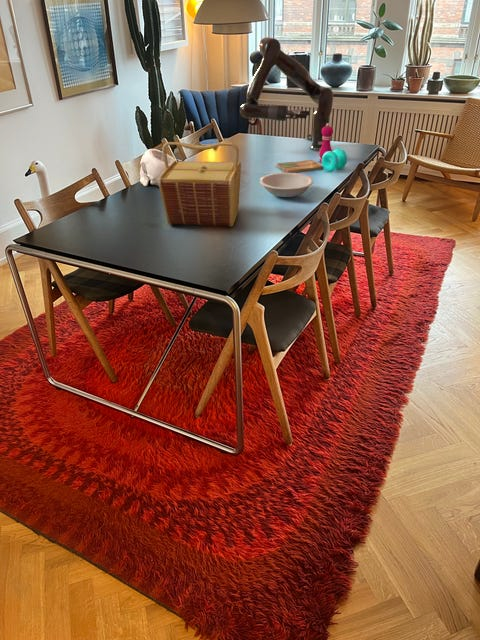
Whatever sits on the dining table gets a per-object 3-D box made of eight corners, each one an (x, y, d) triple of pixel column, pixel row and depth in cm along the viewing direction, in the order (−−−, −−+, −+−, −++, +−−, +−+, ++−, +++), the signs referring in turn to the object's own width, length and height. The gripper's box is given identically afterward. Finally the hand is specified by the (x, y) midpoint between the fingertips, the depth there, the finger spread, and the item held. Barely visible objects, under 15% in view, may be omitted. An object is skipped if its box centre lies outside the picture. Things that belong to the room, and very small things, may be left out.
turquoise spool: (319, 170, 248) (321, 150, 242) (332, 166, 253) (333, 146, 248) (334, 174, 241) (336, 153, 236) (347, 169, 247) (349, 150, 241)
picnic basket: (160, 230, 185) (151, 150, 168) (177, 207, 206) (170, 134, 190) (235, 233, 181) (233, 151, 165) (244, 209, 202) (243, 134, 186)
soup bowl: (319, 189, 221) (320, 175, 218) (302, 206, 203) (303, 191, 199) (271, 184, 230) (271, 170, 226) (251, 199, 212) (251, 185, 208)
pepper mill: (332, 160, 262) (335, 122, 251) (331, 164, 256) (334, 124, 245) (319, 160, 264) (321, 121, 253) (317, 163, 258) (320, 124, 247)
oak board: (277, 166, 255) (277, 163, 254) (311, 162, 260) (311, 159, 259) (287, 173, 244) (287, 170, 243) (323, 169, 248) (323, 166, 248)
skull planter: (147, 173, 243) (156, 140, 229) (176, 196, 240) (187, 165, 226) (128, 180, 233) (137, 146, 220) (158, 205, 230) (169, 172, 217)
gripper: (275, 107, 245) (306, 109, 242) (280, 103, 257) (310, 104, 253) (274, 122, 250) (305, 125, 246) (280, 118, 261) (309, 119, 257)
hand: (308, 114), depth 250 cm, fingers open, 8 cm apart
